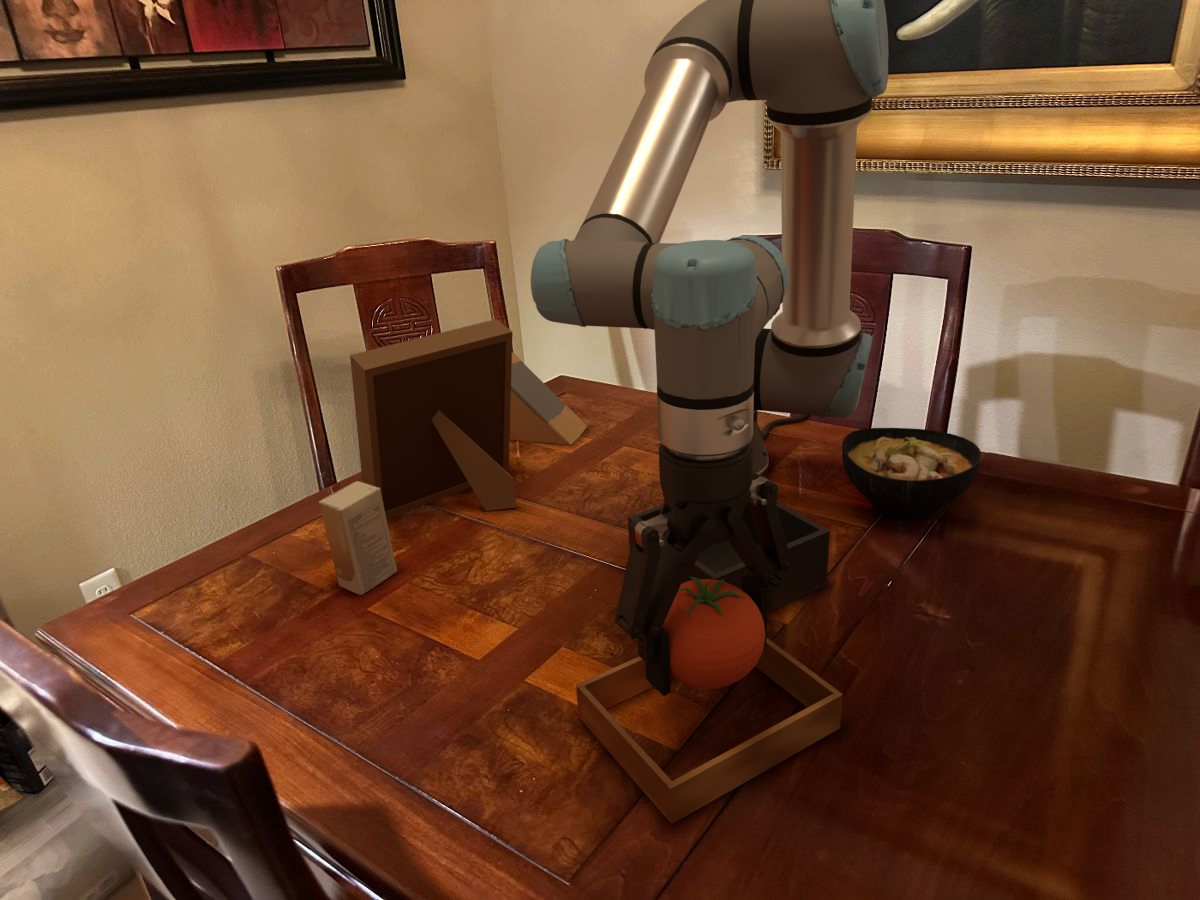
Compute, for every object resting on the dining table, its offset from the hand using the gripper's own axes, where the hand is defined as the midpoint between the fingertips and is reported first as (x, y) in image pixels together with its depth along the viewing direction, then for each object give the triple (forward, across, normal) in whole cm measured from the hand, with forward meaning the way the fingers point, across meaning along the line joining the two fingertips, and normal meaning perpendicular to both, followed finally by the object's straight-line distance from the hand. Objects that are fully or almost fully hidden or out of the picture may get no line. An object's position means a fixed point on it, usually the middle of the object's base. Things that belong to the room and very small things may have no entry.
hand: (707, 662), depth 77 cm
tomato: (+1, 0, 0) cm, 1 cm away
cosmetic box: (+7, -19, +44) cm, 48 cm away
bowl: (+8, +47, +17) cm, 50 cm away
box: (+7, 0, 0) cm, 7 cm away
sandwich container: (+8, +20, +72) cm, 75 cm away
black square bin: (+7, +17, +18) cm, 25 cm away
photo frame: (+7, -2, +56) cm, 56 cm away
